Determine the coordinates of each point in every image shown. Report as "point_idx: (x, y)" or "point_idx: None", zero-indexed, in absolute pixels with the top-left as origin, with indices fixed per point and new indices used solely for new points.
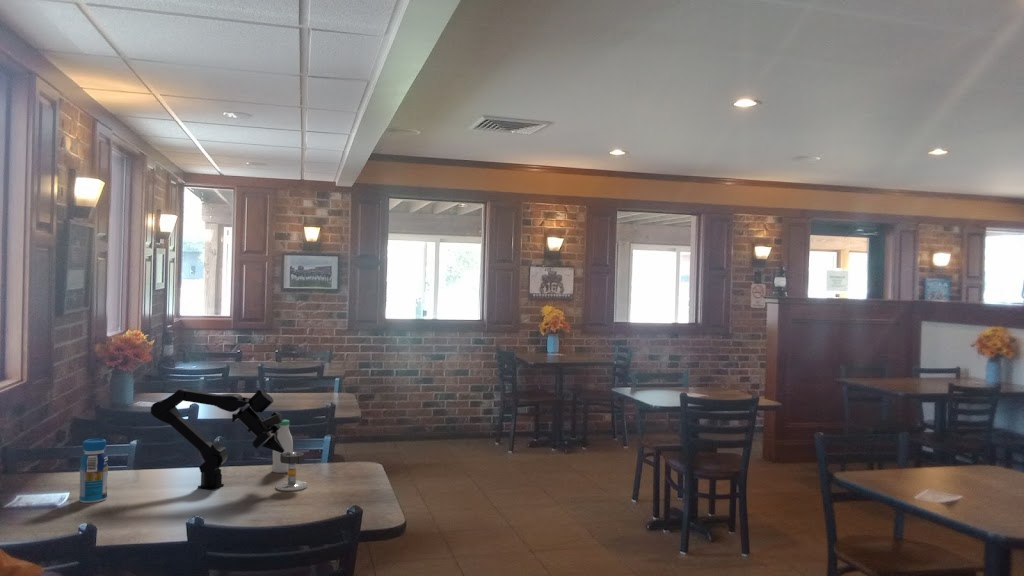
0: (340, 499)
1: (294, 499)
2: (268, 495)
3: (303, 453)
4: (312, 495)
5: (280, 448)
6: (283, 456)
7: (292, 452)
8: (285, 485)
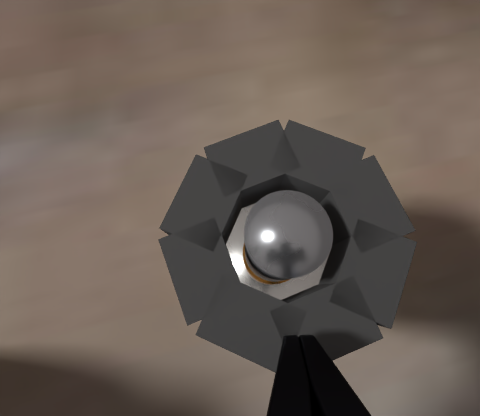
0: (435, 22)
1: (475, 197)
2: (432, 345)
3: (243, 134)
4: (396, 135)
5: (350, 394)
6: (394, 309)
7: (270, 236)
8: (289, 290)
